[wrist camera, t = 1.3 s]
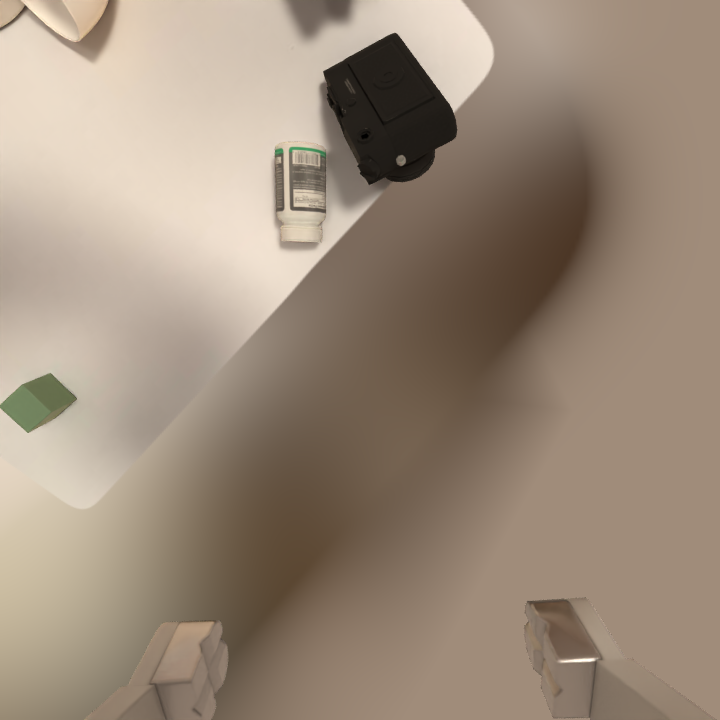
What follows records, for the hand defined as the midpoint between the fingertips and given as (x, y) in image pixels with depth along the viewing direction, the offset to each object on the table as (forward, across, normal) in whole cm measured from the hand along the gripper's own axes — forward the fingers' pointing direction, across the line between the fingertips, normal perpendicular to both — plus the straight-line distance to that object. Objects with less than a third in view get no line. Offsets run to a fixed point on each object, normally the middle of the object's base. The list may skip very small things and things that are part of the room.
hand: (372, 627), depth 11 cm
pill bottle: (+33, +4, -19) cm, 38 cm away
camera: (+32, -7, -21) cm, 39 cm away
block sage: (+35, +37, +4) cm, 51 cm away
